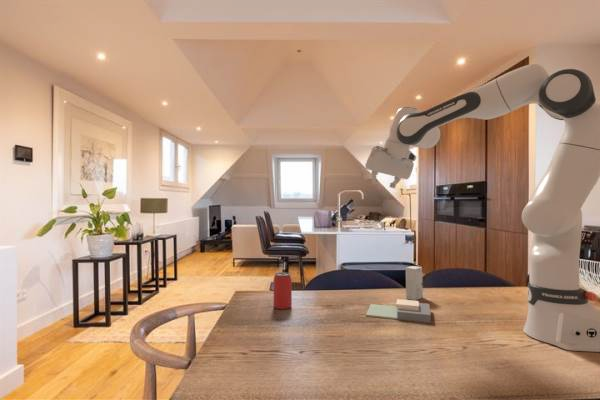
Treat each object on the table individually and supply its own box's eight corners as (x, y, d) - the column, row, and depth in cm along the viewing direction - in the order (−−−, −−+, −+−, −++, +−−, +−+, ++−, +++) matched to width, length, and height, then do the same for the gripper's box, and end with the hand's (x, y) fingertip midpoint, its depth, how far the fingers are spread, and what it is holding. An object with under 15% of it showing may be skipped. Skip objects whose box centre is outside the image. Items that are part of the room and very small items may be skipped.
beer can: (292, 304, 121) (292, 272, 121) (290, 310, 115) (290, 276, 115) (275, 304, 122) (275, 271, 122) (272, 309, 115) (271, 275, 116)
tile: (418, 305, 111) (418, 300, 111) (418, 310, 106) (418, 306, 106) (397, 303, 114) (397, 299, 114) (396, 308, 108) (396, 304, 108)
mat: (399, 308, 116) (399, 306, 116) (397, 319, 105) (397, 317, 105) (370, 305, 120) (370, 303, 120) (365, 316, 108) (365, 314, 108)
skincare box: (416, 300, 125) (415, 269, 125) (405, 298, 128) (404, 267, 128) (423, 297, 129) (423, 266, 129) (412, 295, 132) (412, 265, 132)
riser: (429, 311, 113) (429, 303, 113) (430, 323, 101) (430, 315, 101) (399, 308, 116) (399, 301, 116) (397, 319, 105) (397, 311, 105)
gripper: (379, 145, 115) (366, 183, 118) (419, 158, 125) (407, 192, 128) (368, 143, 120) (357, 178, 123) (408, 154, 130) (396, 187, 133)
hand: (383, 185), depth 126 cm, fingers open, 8 cm apart
